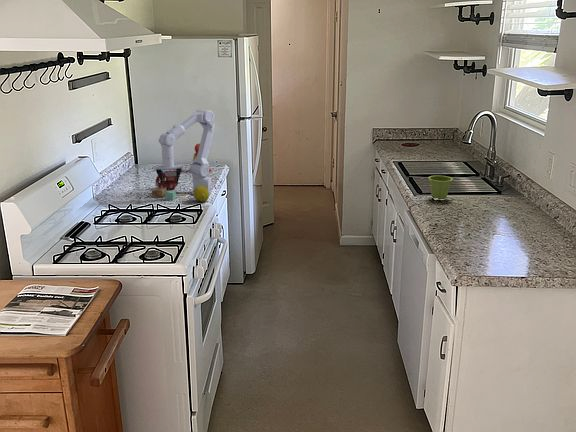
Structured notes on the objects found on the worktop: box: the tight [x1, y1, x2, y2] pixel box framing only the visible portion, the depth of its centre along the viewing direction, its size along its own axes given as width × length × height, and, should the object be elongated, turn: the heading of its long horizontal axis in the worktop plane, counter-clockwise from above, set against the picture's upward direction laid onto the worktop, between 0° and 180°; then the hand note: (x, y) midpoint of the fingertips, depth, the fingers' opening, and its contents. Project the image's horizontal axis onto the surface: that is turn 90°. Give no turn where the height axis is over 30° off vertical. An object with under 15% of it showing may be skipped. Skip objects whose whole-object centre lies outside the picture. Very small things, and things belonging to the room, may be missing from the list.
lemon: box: [193, 186, 210, 203], centre depth 287 cm, size 11×8×8 cm
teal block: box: [164, 190, 177, 201], centre depth 292 cm, size 4×4×4 cm
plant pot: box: [428, 175, 453, 199], centre depth 289 cm, size 12×12×11 cm
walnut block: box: [151, 187, 168, 199], centre depth 298 cm, size 6×6×4 cm
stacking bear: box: [192, 143, 213, 173], centre depth 352 cm, size 11×10×18 cm
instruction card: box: [176, 193, 191, 199], centre depth 298 cm, size 8×6×1 cm
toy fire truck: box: [154, 170, 179, 191], centre depth 312 cm, size 7×12×10 cm, turn 91°
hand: (169, 183), depth 290 cm, fingers open, 7 cm apart
